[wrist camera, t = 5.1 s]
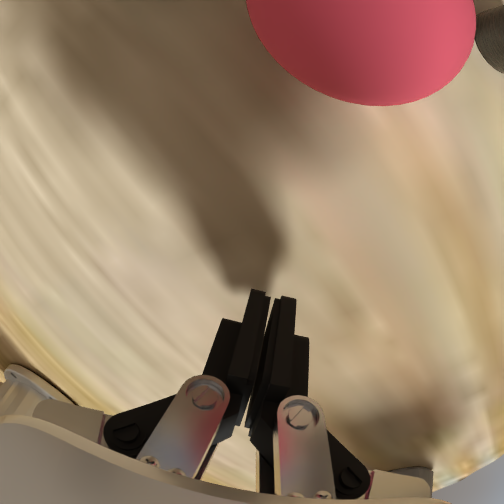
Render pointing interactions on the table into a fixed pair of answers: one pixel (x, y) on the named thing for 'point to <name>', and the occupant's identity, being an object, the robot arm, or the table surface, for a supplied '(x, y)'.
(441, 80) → the ball
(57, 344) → the table surface
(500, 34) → the post
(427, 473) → the coffeepot
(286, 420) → the robot arm
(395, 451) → the table surface
